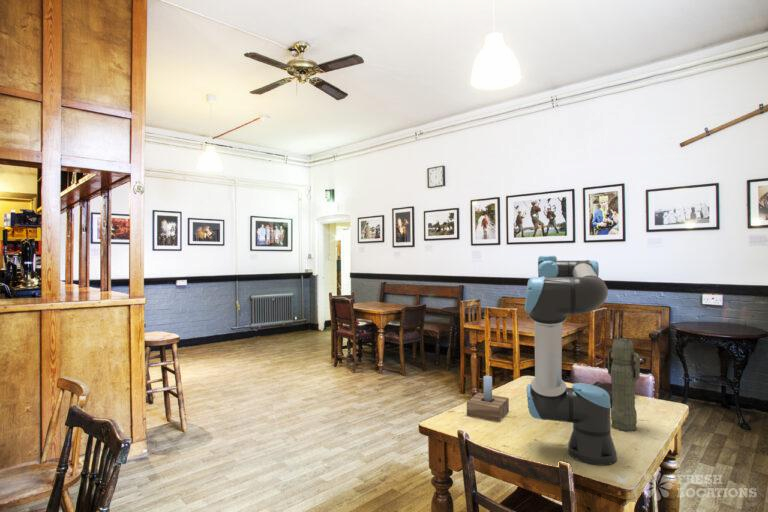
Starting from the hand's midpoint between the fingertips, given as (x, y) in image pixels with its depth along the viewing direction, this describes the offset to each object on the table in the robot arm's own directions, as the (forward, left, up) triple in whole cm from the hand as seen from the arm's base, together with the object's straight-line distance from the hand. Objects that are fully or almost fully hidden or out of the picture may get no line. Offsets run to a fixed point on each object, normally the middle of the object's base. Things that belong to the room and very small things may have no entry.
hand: (548, 341), depth 184 cm
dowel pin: (-11, +23, -30) cm, 39 cm away
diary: (+36, -19, -32) cm, 52 cm away
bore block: (-11, +23, -32) cm, 41 cm away
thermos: (+2, -28, -32) cm, 42 cm away
